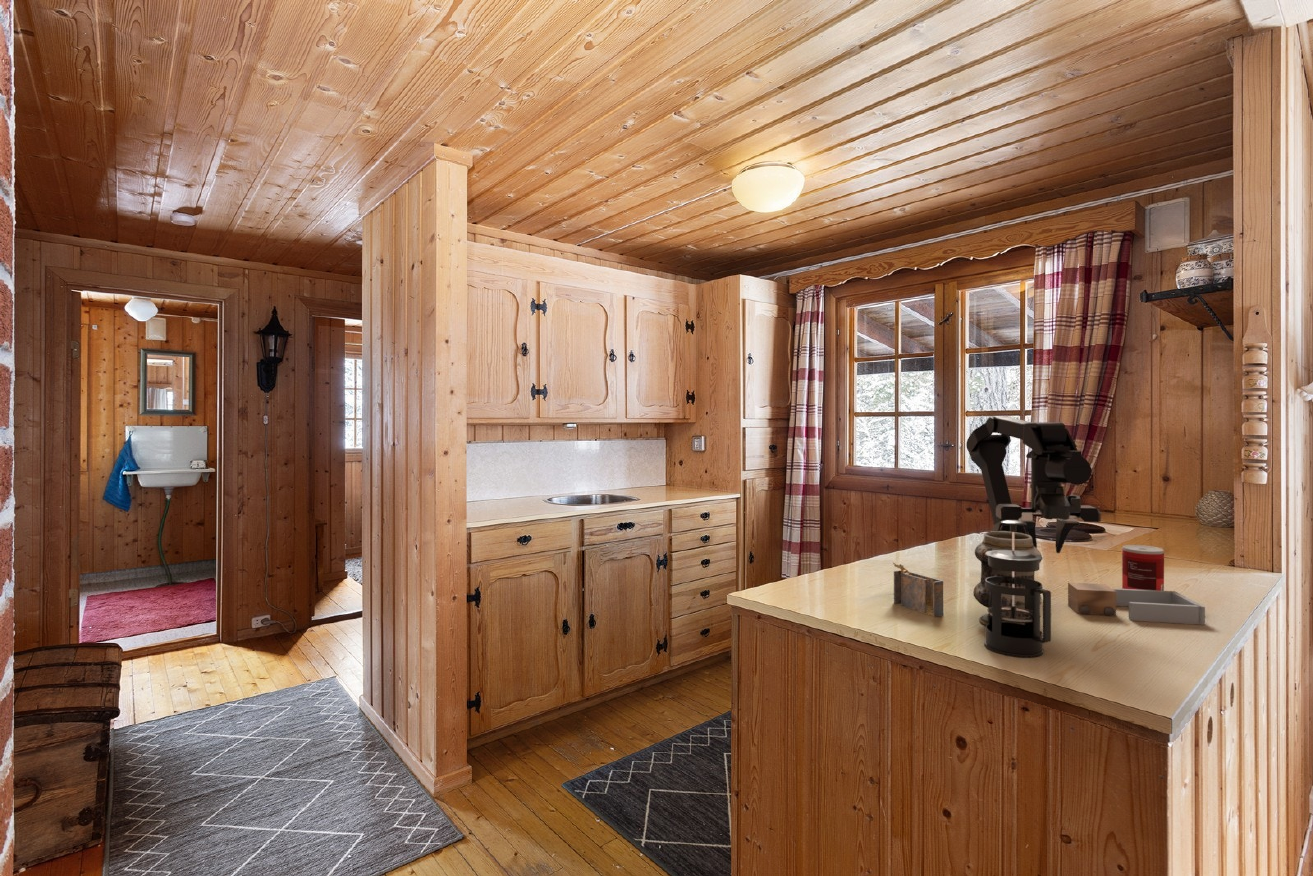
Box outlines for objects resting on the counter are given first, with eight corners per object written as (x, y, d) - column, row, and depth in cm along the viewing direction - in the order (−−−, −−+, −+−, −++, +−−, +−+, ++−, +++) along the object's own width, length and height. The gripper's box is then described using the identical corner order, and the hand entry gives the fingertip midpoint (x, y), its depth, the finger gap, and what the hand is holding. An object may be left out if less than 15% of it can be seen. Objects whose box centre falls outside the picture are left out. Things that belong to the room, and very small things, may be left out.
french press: (969, 643, 119) (968, 518, 119) (1004, 635, 123) (1003, 514, 123) (1029, 664, 109) (1029, 528, 108) (1065, 655, 113) (1065, 523, 112)
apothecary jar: (1016, 637, 122) (1016, 542, 121) (960, 620, 133) (960, 532, 132) (1055, 627, 127) (1055, 536, 127) (998, 611, 138) (998, 527, 138)
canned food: (1149, 591, 152) (1149, 544, 151) (1172, 600, 144) (1173, 551, 144) (1114, 591, 153) (1114, 544, 152) (1136, 600, 145) (1136, 551, 144)
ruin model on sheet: (892, 605, 146) (892, 562, 145) (902, 603, 147) (902, 560, 147) (932, 619, 135) (932, 572, 135) (943, 617, 137) (943, 571, 136)
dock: (1130, 620, 131) (1130, 603, 131) (1107, 603, 142) (1107, 588, 142) (1204, 624, 127) (1205, 607, 127) (1174, 607, 139) (1175, 591, 139)
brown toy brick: (1078, 614, 135) (1078, 590, 135) (1067, 604, 142) (1067, 581, 142) (1117, 616, 134) (1117, 592, 133) (1103, 606, 140) (1103, 583, 140)
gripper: (1007, 483, 134) (1007, 558, 135) (1111, 484, 129) (1111, 562, 130) (995, 478, 145) (995, 548, 146) (1090, 479, 140) (1090, 551, 140)
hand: (1046, 552), depth 140 cm, fingers open, 4 cm apart
